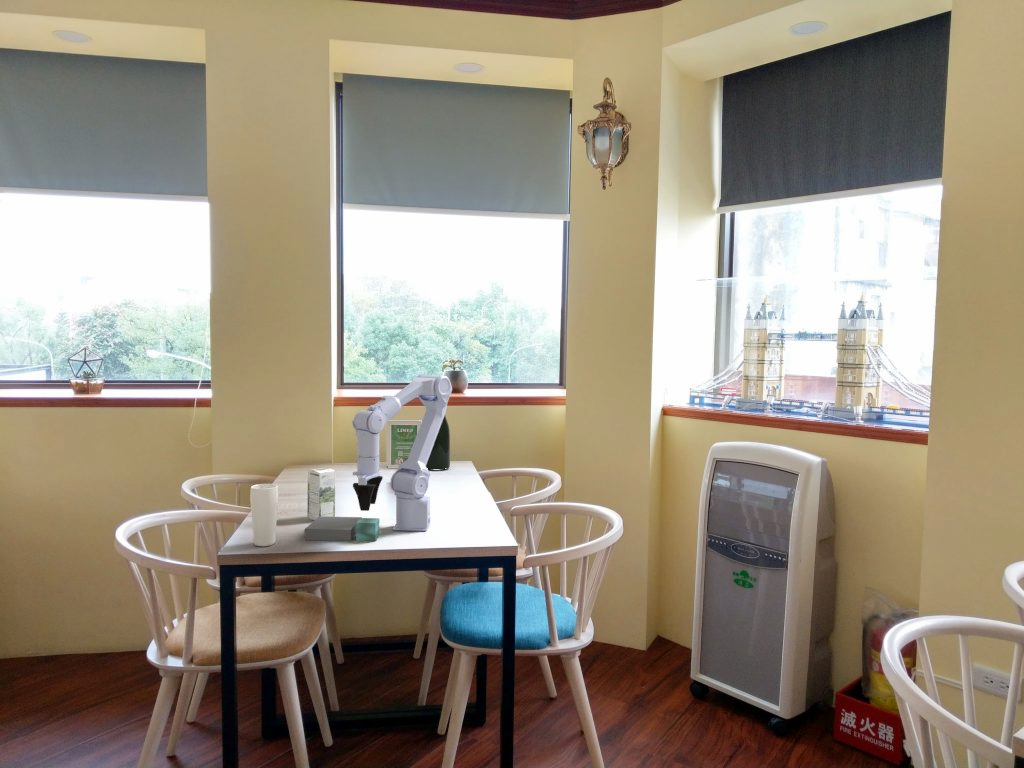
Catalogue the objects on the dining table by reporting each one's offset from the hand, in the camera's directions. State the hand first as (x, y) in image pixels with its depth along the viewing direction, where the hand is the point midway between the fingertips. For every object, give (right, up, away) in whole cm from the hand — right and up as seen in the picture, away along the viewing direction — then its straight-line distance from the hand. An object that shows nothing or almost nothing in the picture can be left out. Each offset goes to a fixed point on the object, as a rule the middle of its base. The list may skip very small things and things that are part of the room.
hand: (367, 507), depth 190 cm
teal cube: (0, -9, +1) cm, 9 cm away
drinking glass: (-25, -9, -6) cm, 27 cm away
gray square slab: (-10, -8, +5) cm, 14 cm away
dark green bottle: (+8, -2, +103) cm, 104 cm away
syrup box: (-18, -7, +21) cm, 28 cm away
